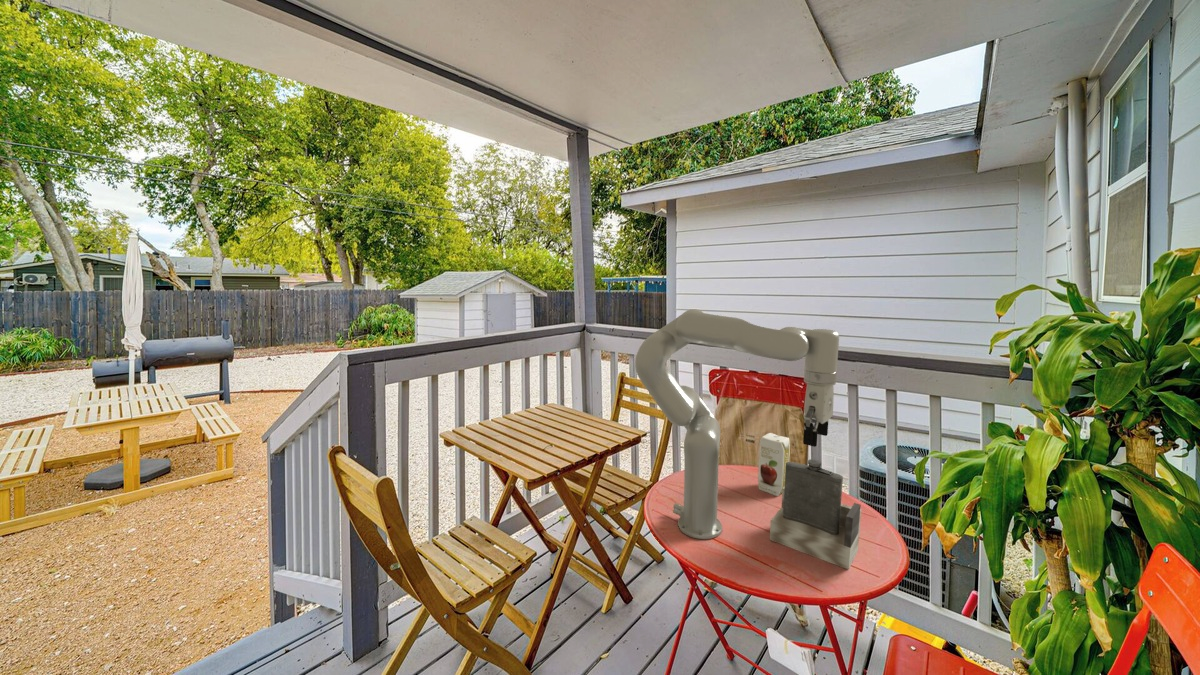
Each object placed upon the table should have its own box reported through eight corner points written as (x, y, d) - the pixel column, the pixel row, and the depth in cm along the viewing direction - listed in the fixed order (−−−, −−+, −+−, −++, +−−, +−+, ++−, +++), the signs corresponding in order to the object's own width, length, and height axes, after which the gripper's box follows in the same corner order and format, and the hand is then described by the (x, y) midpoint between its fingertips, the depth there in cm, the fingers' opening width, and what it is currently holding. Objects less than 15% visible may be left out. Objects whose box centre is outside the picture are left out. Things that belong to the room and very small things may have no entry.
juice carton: (765, 482, 163) (768, 431, 160) (789, 490, 157) (792, 437, 154) (755, 489, 158) (757, 436, 155) (779, 498, 151) (782, 443, 149)
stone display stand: (769, 539, 129) (772, 493, 127) (782, 524, 136) (784, 480, 134) (848, 569, 116) (852, 518, 114) (857, 551, 124) (862, 502, 121)
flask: (785, 512, 132) (789, 452, 129) (840, 530, 123) (845, 466, 120) (781, 517, 129) (784, 456, 126) (836, 536, 120) (842, 471, 117)
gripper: (826, 386, 111) (821, 453, 113) (844, 373, 124) (839, 433, 126) (793, 381, 116) (789, 445, 118) (814, 369, 128) (810, 427, 131)
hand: (815, 439), depth 122 cm, fingers open, 9 cm apart
